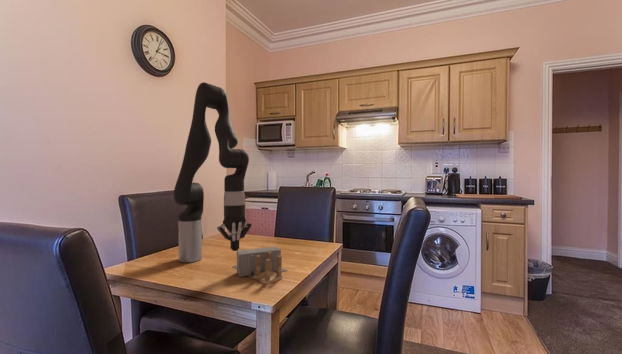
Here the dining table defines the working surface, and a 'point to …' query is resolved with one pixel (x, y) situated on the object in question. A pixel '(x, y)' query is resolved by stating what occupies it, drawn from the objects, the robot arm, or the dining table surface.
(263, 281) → the stool
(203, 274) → the dining table surface
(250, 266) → the skincare box
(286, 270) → the mat
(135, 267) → the dining table surface
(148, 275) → the dining table surface
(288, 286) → the dining table surface
